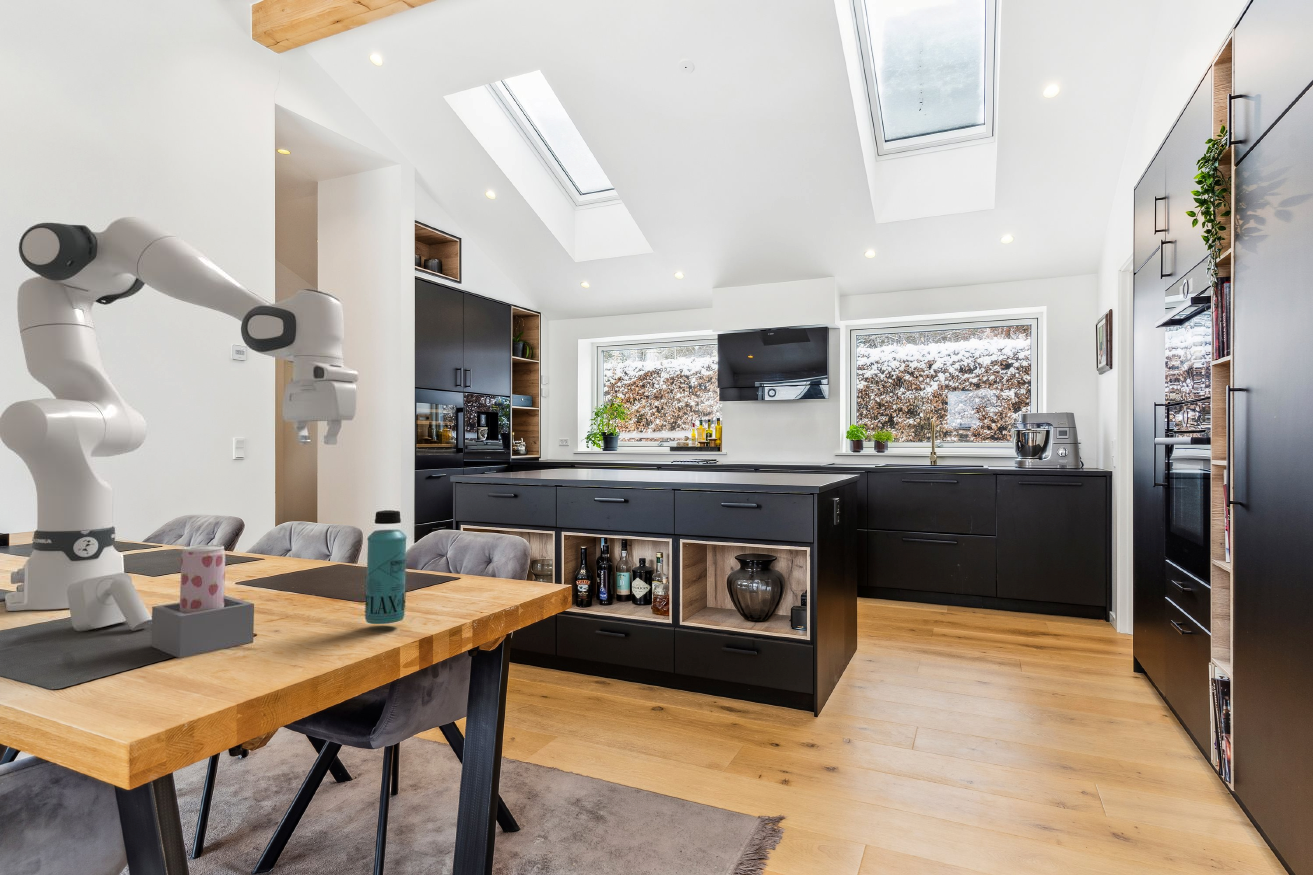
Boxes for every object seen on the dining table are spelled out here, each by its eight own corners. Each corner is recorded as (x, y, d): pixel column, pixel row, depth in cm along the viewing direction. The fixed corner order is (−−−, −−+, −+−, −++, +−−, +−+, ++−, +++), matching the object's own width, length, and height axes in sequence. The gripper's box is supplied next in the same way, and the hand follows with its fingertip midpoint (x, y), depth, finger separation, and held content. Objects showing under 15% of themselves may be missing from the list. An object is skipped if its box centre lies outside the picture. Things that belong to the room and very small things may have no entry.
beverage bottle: (355, 632, 111) (358, 511, 111) (377, 622, 117) (380, 508, 118) (392, 634, 110) (395, 512, 110) (412, 624, 116) (415, 509, 117)
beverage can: (184, 641, 104) (187, 545, 105) (227, 638, 106) (229, 543, 107) (173, 651, 99) (176, 550, 99) (218, 648, 101) (221, 548, 102)
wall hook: (126, 633, 106) (115, 571, 107) (74, 644, 108) (65, 583, 109) (172, 621, 114) (162, 563, 115) (123, 631, 116) (114, 574, 117)
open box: (151, 646, 102) (152, 606, 102) (223, 631, 110) (224, 595, 110) (179, 658, 96) (181, 616, 96) (253, 642, 104) (254, 603, 105)
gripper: (274, 375, 134) (272, 444, 133) (332, 369, 122) (330, 444, 122) (305, 378, 139) (304, 444, 139) (363, 372, 128) (362, 445, 127)
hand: (316, 444), depth 130 cm, fingers open, 8 cm apart
